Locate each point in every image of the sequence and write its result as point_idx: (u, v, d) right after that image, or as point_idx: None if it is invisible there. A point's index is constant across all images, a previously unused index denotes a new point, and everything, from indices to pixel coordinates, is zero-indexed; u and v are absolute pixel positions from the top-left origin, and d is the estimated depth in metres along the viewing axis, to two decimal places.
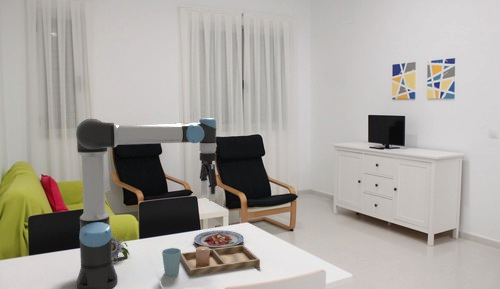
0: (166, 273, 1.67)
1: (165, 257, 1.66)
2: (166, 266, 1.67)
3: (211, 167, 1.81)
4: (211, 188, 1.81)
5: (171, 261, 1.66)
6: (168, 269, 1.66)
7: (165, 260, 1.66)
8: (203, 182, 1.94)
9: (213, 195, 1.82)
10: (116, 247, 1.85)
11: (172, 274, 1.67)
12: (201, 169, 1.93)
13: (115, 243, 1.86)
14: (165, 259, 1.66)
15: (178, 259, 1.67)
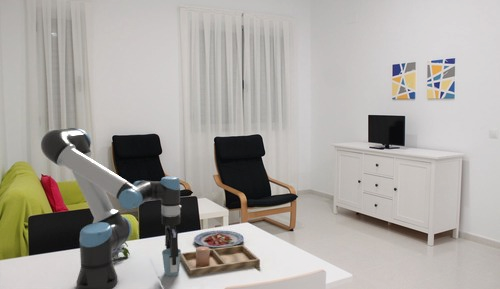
0: (166, 273, 1.67)
1: (165, 257, 1.66)
2: (166, 266, 1.67)
3: (173, 236, 1.62)
4: (172, 259, 1.64)
5: None
6: (168, 269, 1.66)
7: (165, 260, 1.66)
8: None
9: (175, 266, 1.65)
10: None
11: (172, 274, 1.67)
12: (165, 234, 1.73)
13: None
14: (165, 259, 1.66)
15: (178, 259, 1.67)
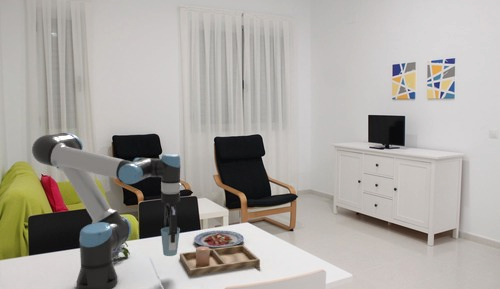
0: (164, 251, 1.67)
1: (164, 235, 1.65)
2: (165, 244, 1.66)
3: (172, 213, 1.61)
4: (171, 236, 1.63)
5: None
6: (166, 247, 1.66)
7: (164, 238, 1.65)
8: None
9: (173, 244, 1.64)
10: (117, 247, 1.85)
11: (170, 252, 1.66)
12: None
13: None
14: (164, 237, 1.65)
15: (177, 237, 1.67)
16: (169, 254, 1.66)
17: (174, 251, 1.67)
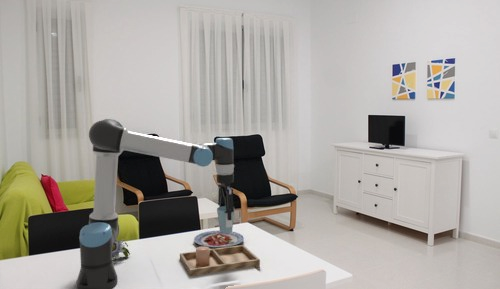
0: (221, 228, 1.78)
1: (220, 213, 1.77)
2: (221, 222, 1.78)
3: (229, 192, 1.73)
4: (227, 214, 1.75)
5: None
6: (223, 224, 1.77)
7: (220, 216, 1.77)
8: None
9: (230, 221, 1.76)
10: (117, 247, 1.85)
11: (227, 229, 1.78)
12: (219, 193, 1.84)
13: (116, 243, 1.86)
14: (220, 215, 1.77)
15: (232, 215, 1.78)
16: (226, 231, 1.78)
17: (230, 228, 1.79)
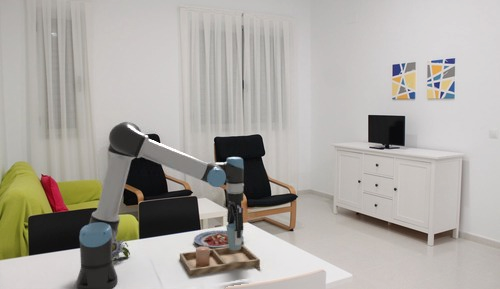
0: (230, 246, 1.82)
1: (230, 231, 1.80)
2: (231, 239, 1.81)
3: (239, 211, 1.76)
4: (237, 232, 1.79)
5: None
6: (232, 242, 1.81)
7: (230, 234, 1.81)
8: None
9: (239, 239, 1.80)
10: (117, 247, 1.85)
11: (236, 247, 1.82)
12: (228, 211, 1.87)
13: (116, 243, 1.86)
14: (230, 233, 1.81)
15: (241, 233, 1.82)
16: (235, 248, 1.82)
17: (239, 246, 1.82)
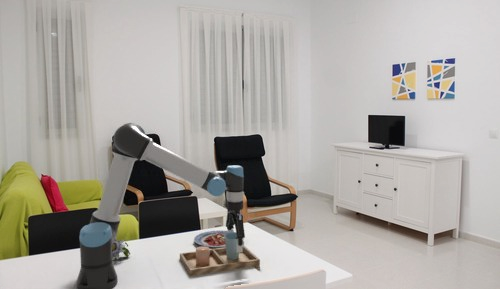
0: (228, 255, 1.85)
1: (228, 241, 1.82)
2: (228, 249, 1.84)
3: (239, 218, 1.76)
4: (238, 239, 1.77)
5: (233, 245, 1.82)
6: (230, 252, 1.84)
7: (228, 244, 1.83)
8: (229, 231, 1.89)
9: (240, 246, 1.78)
10: (117, 247, 1.85)
11: (234, 256, 1.84)
12: (227, 217, 1.89)
13: (116, 243, 1.86)
14: (228, 243, 1.83)
15: None
16: (232, 258, 1.84)
17: (237, 255, 1.85)
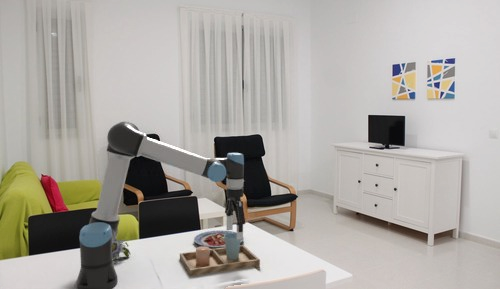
0: (228, 255, 1.85)
1: (228, 240, 1.83)
2: (228, 249, 1.84)
3: (239, 204, 1.76)
4: (239, 226, 1.76)
5: (233, 244, 1.83)
6: (230, 251, 1.84)
7: (227, 243, 1.84)
8: (229, 217, 1.89)
9: (241, 233, 1.77)
10: (117, 247, 1.85)
11: (234, 256, 1.84)
12: (227, 204, 1.88)
13: (116, 243, 1.86)
14: (228, 242, 1.83)
15: (239, 242, 1.85)
16: (232, 258, 1.84)
17: (237, 255, 1.85)
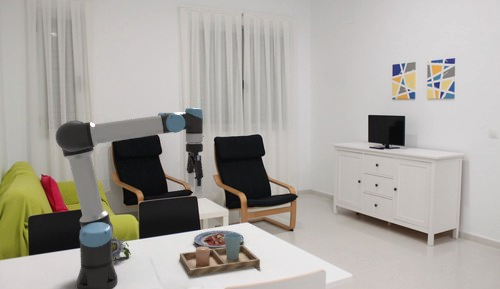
0: (228, 255, 1.85)
1: (228, 240, 1.83)
2: (228, 249, 1.84)
3: (197, 158, 1.74)
4: (197, 180, 1.75)
5: (233, 244, 1.83)
6: (230, 251, 1.84)
7: (227, 243, 1.84)
8: (190, 174, 1.88)
9: (199, 187, 1.76)
10: (118, 247, 1.85)
11: (234, 256, 1.84)
12: (188, 161, 1.87)
13: (117, 243, 1.86)
14: (228, 242, 1.83)
15: (239, 242, 1.85)
16: (232, 258, 1.84)
17: (237, 255, 1.85)
